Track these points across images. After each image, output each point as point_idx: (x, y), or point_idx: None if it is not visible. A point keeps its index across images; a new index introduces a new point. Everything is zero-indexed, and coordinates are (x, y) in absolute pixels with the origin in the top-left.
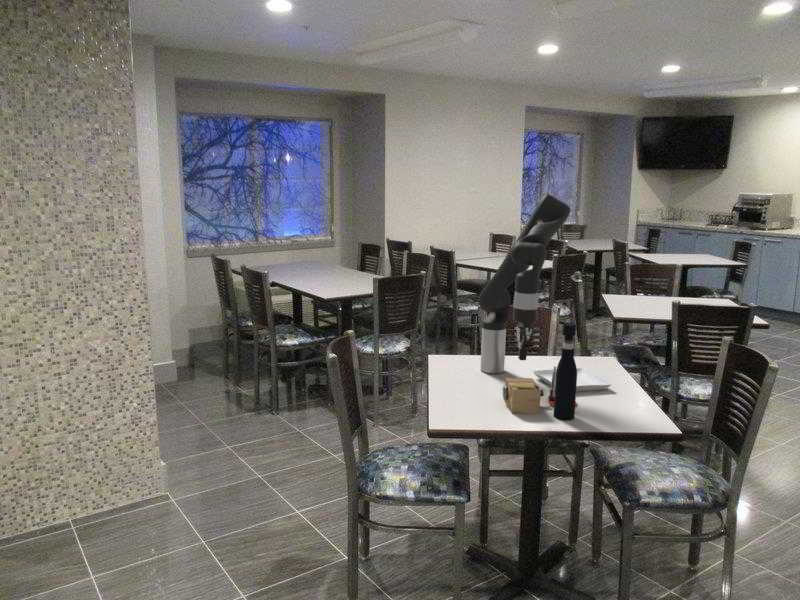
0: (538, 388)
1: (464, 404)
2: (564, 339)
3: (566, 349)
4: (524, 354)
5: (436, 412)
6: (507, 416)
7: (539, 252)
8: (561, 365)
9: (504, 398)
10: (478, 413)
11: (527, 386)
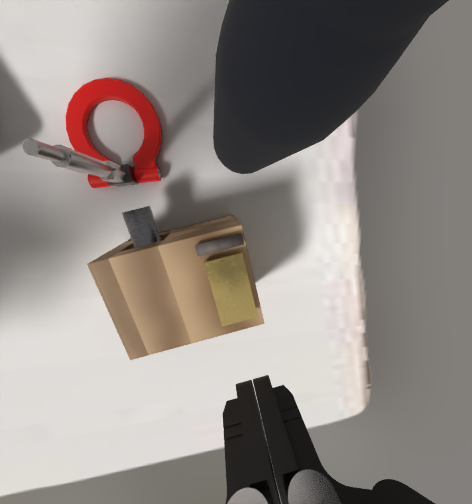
0: (241, 234)
1: (213, 392)
2: None
3: None
4: (302, 426)
5: None
6: (273, 294)
7: None
8: (376, 88)
9: None
10: (266, 356)
11: (248, 279)
